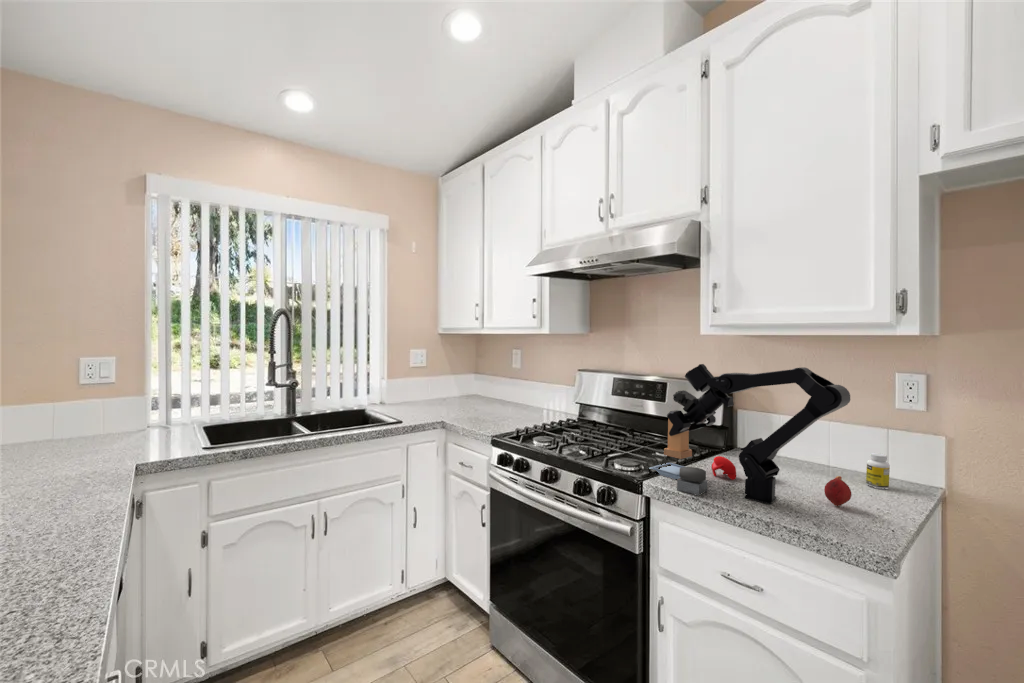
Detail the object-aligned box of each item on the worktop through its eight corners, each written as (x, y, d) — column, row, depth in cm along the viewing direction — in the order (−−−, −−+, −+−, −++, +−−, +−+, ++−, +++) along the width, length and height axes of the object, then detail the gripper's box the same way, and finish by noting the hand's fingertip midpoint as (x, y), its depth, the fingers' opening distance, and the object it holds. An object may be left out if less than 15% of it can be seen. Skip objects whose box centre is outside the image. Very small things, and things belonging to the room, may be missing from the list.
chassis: (699, 475, 147) (699, 470, 147) (681, 481, 141) (681, 476, 141) (666, 465, 157) (666, 461, 156) (648, 470, 150) (648, 466, 150)
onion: (838, 511, 120) (839, 480, 119) (818, 502, 125) (819, 473, 125) (856, 509, 121) (857, 478, 121) (835, 501, 127) (836, 471, 126)
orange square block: (691, 456, 147) (692, 414, 147) (680, 459, 143) (681, 416, 143) (675, 452, 152) (675, 412, 151) (663, 454, 148) (664, 413, 148)
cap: (704, 464, 148) (717, 458, 143) (714, 455, 151) (727, 450, 146) (720, 486, 146) (733, 482, 141) (730, 477, 149) (744, 472, 144)
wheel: (709, 488, 133) (709, 470, 133) (699, 494, 128) (700, 475, 128) (685, 482, 138) (685, 465, 138) (675, 487, 133) (675, 470, 133)
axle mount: (707, 490, 133) (707, 479, 133) (698, 495, 129) (699, 484, 129) (685, 484, 138) (686, 474, 137) (676, 489, 133) (677, 479, 133)
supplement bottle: (861, 484, 141) (862, 452, 141) (874, 483, 143) (875, 451, 143) (880, 490, 136) (881, 457, 136) (893, 489, 138) (894, 456, 138)
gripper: (707, 381, 149) (676, 410, 158) (673, 384, 138) (641, 416, 147) (730, 409, 143) (697, 438, 152) (697, 415, 132) (662, 446, 141)
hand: (674, 433), depth 148 cm, fingers closed on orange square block, 4 cm apart
